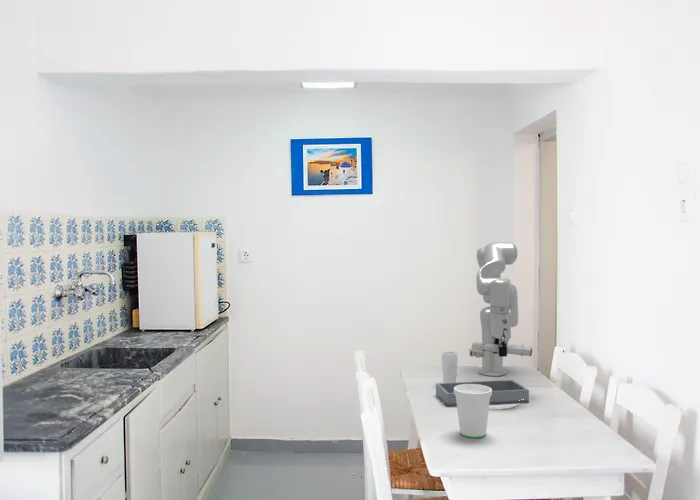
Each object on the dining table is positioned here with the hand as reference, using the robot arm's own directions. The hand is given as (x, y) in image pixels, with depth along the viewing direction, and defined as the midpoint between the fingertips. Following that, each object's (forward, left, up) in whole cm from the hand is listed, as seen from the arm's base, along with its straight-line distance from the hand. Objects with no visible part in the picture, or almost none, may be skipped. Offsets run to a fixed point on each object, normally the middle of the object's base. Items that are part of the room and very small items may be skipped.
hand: (499, 354), depth 238 cm
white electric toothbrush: (0, 0, -1) cm, 1 cm away
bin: (+1, -8, -18) cm, 19 cm away
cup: (+40, -25, -18) cm, 50 cm away
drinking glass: (-19, -15, -18) cm, 30 cm away
